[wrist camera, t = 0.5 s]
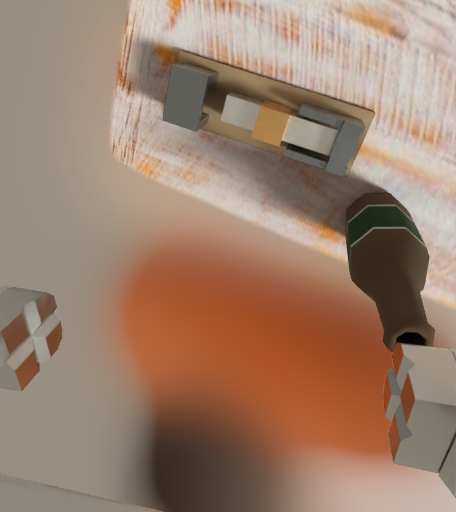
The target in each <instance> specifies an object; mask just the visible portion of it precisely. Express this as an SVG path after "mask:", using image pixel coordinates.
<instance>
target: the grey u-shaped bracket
mask: <svg viewBox="0 0 456 512" xmlns="http://www.w3.org/2000/svg"><path fill="white" fill-rule="evenodd" d="M299 115H302V116H305V117H308V118H311V119H314V120H318V121H321V122H324V123H327V124H330V125H333V126H336V127H339V128H341V130H340V132H339V135H338V137H337V140H336V142H335V145H334V147H333V150H332V152H331V154H330V156H328V155H325V154H322V153H319V152H316V151H313V150H310V149H307V148H304V147H300V146H297V145H294V144H291V143H288V145H287V148H286V151H285V154H284V156H285V157H289V158H292V159H295V160H298V161H301V162H304V163H307V164H310V165H313V166H316V167H319V168H322V169H324V171H326V172H329V173H332V174H335V175H338V176H341V177H342V176H345V173H346V171H347V165H348V162H349V160H350V158H351V155H352V153H353V151H354V149H355V146H356V144H357V142H358V139H359V137H360V135H363V133H364V130H365V128H366V127H365V125H364V122H363V120H360V119H357V118H353V117H350V116H347V115H344V114H341V113H338V112H335V111H332V110H328V109H325V108H322V107H319V106H316V105H313V104H310V103H307V102H302V105H301V108H300V111H299Z"/></svg>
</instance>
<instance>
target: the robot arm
mask: <svg viewBox="0 0 456 512" xmlns="http://www.w3.org/2000/svg"><path fill="white" fill-rule="evenodd" d="M56 308H57V306H56V302H55V299H54V296H53V295H51V294H49V293H46V292H40V291H34V290H28V289H22V288H16V287H8V286H3V285H0V388H3V389H10V390H16V391H23V390H24V388H25V387H26V386H27V385H28V384H29V383H30V382H31V380H32V379H33V378H34V376H36V374H37V373H38V372H39V371H40V363H41V362H43V361H45V360H47V359H49V358H51V357H52V356H53V354H54V353H55V352H56V351H57V349H58V347H59V345H60V342H61V339H62V326H61V321H60V320H59V319H58V318H57V317H56V316H55V315H54V311H55V310H56ZM392 361H393V366H394V368H392V369H391V370H390V371H388V372H387V374H386V379H385V383H384V393H383V403H384V411H385V416H386V417H387V418H388V420H389V421H390V422H391V426H390V429H389V433H388V436H389V442H390V447H391V453H392V459H393V463H395V464H399V465H404V466H408V467H413V468H417V469H422V470H426V471H431V472H435V473H439V477H440V478H441V479H442V481H443V482H444V483H445V485H446V486H447V487H448V488H449V490H450V491H451V492H452V494H453V495H454V496H455V498H456V350H455V349H442V348H435V347H427V346H420V345H413V344H405V343H398V342H397V344H396V345H395V347H394V350H393V353H392ZM0 512H162V511H158V510H154V509H149V508H145V507H141V506H137V505H132V504H128V503H124V502H119V501H116V500H111V499H107V498H103V497H99V496H94V495H90V494H86V493H81V492H77V491H73V490H69V489H64V488H60V487H56V486H51V485H48V484H44V483H39V482H35V481H31V480H27V479H22V478H18V477H14V476H10V475H6V474H1V473H0Z"/></svg>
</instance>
